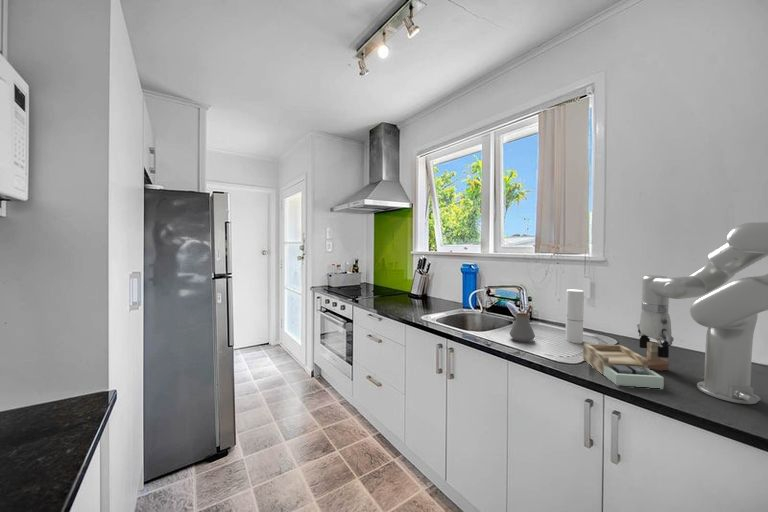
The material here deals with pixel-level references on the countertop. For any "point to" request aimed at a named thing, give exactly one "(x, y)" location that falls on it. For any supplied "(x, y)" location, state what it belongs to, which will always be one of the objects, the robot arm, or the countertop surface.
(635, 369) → the blue-grey cube
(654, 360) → the wooden t-shaped piece
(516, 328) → the coffee pot
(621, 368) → the blue-grey cube
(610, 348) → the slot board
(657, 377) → the tray
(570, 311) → the cylindrical container
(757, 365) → the countertop surface
